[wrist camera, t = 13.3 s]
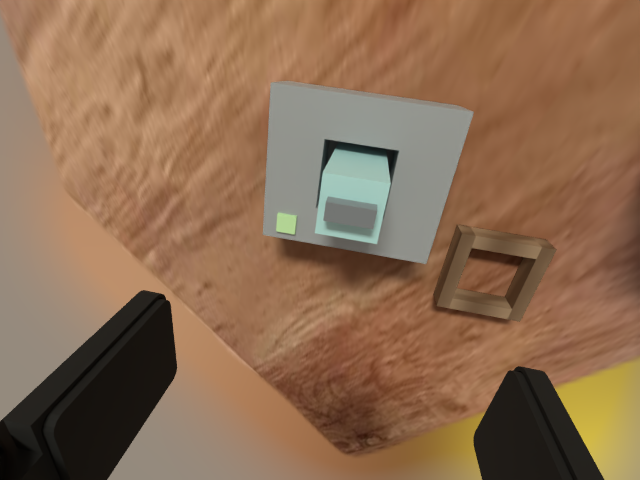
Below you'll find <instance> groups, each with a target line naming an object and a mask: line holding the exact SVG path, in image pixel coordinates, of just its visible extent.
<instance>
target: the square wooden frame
mask: <svg viewBox="0 0 640 480" xmlns="http://www.w3.org/2000/svg"><path fill="white" fill-rule="evenodd" d="M471 248H475V249H480V250H486V251H492V252H498V253H503V254H509V255H515V256H521V257H523V259H522V261H521V263H520V266H519V268H518V270H517V272H516V274H515V276H514V279H513V281H512V283H511V285H510V287H509V289H508V292H507V294H506V296H505V297H501V296H496V295H491V294H485V293H480V292H474V291H469V290H463V289H458V288H457V286H458V283H459V280H460V278H461V275H462V272H463V270H464V267H465V264H466V262H467V259H468V256H469V254H470V251H471ZM555 252H556V249H555V248H554V247H553V246H552V245H551V244H550V243H549V242H548V241H547V240H546V239H540V238H534V237H528V236H522V235H516V234H510V233H504V232H499V231H493V230H487V229H481V228H475V227H469V226H463V225H457V227H456V230H455V233H454V236H453V239H452V242H451V244H450V247H449V250H448V253H447V256H446V259H445V262H444V265H443V268H442V271H441V274H440V277H439V280H438V283H437V286H436V288H435V291H434V298H435V302H436V305H437V306H439V307H445V308H450V309H455V310H461V311H466V312H471V313H477V314H482V315H487V316H493V317H498V318H503V319H509V320H514V321H519V322H520V321H521V319H522V317H523V315H524V313H525V311H526V309H527V307H528V305H529V303H530V301H531V299H532V297H533V295H534V293H535V291H536V289H537V287H538V285H539V283H540V281H541V279H542V277H543V275H544V273H545V271H546V269H547V267H548V266H549V264H550V262H551V260H552V258H553V256H554V254H555Z"/></svg>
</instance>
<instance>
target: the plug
mask: <svg viewBox="0 0 640 480" xmlns="http://www.w3.org/2000/svg"><path fill="white" fill-rule="evenodd" d="M390 184H391V182H390V175H389V167H388V160H387V153H386V149H385V148H378V147H372V146H365V145H359V144H353V143H346V142H340V141H339V142H338V144H337V146H336V148H335V150H334V152H333V154H332V156H331V158H330V160H329V161H328V163H327V165H326V167H325V169H324V171H323V174H322V182H321V190H320V197H319V205H318V213H317V220H316V228H315V233H317V234H322V235H328V236H334V237H339V238H345V239H351V240H356V241H362V242H368V243H373V244H377V241H378V237H379V233H380V228H381V224H382V220H383V215H384V211H385V206H386V202H387V198H388V193H389V189H390Z"/></svg>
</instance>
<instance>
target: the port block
mask: <svg viewBox="0 0 640 480" xmlns="http://www.w3.org/2000/svg"><path fill="white" fill-rule="evenodd" d="M473 113H474V112H473V111H470V110H468V109H465V108H463V107H460V106H458V105H452V104H445V103H438V102H431V101H424V100H417V99H410V98H403V97H396V96H389V95H382V94H376V93H369V92H362V91H355V90H348V89H341V88H334V87H327V86H320V85H313V84H306V83H299V82H292V81H280V82H271V89H270V109H269V128H268V147H267V166H266V185H265V204H264V224H263V235H267V236H273V237H278V238H284V239H290V240H295V241H301V242H306V243H312V244H317V245H323V246H329V247H334V248H340V249H345V250H351V251H356V252H362V253H368V254H373V255H379V256H384V257H390V258H395V259H401V260H407V261H412V262H418V263H423V264H426V263H427V260H428V257H429V254H430V250H431V247H432V244H433V241H434V238H435V234H436V231H437V228H438V225H439V222H440V218H441V215H442V212H443V209H444V206H445V202H446V199H447V196H448V193H449V190H450V186H451V183H452V180H453V177H454V174H455V170H456V167H457V164H458V161H459V158H460V154H461V151H462V148H463V145H464V142H465V138H466V135H467V132H468V129H469V126H470V123H471V119H472V116H473ZM339 141H340V142H346V143H353V144H359V145H365V146H372V147H378V148H385V149H386V153H387V160H388V167H389V175H390V182H391V184H390V189H389V193H388V198H387V202H386V206H385V211H384V215H383V220H382V224H381V228H380V233H379V237H378V241H377V244H373V243H368V242H362V241H356V240H351V239H345V238H339V237H334V236H328V235H322V234H317V233H315V228H316V220H317V213H318V205H319V197H320V190H321V182H322V174H323V171H324V169H325V167H326V165H327V163H328V161H329V160H330V158H331V156H332V154H333V152H334V150H335V148H336V146H337V144H338V142H339Z"/></svg>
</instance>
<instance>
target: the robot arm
mask: <svg viewBox="0 0 640 480" xmlns="http://www.w3.org/2000/svg"><path fill="white" fill-rule="evenodd" d="M176 370H177V362H176V353H175V343H174V334H173V323H172V314H171V305H170V302H169V301H168V300H166V298H165V296H164V295H163V294H159V293H155V292H150V291H145V290H143V291H140V292H139V293H138V294H137V295H136V296H135V297H133V298H132V299H131V300H130V301H129V302H128V303H127V304H126V305H125V306H124V307H123V308H122V309H121V310H120V311H118V312H117V313H116V314H115V315H114V316H113V317H112V318H111V319H110V320H109V321H108V322H107V323H106V324H104V325H103V326H102V327H101V328H100V329H99V330H98V331H97V332H96V333H95V334H94V335H93V336H92V337H90V338H89V339H88V340H87V341H86V342H85V343H84V344H83V345H82V346H81V347H79V348H78V349H77V350H76V351H75V352H74V353H73V354H72V355H71V356H70V357H69V358H68V359H67V360H66V361H64V362H63V363H62V364H61V365H60V366H59V367H58V368H57V369H56V370H55V371H54V372H53V373H52V374H50V375H49V376H48V377H47V378H46V379H45V380H44V381H43V382H42V383H41V384H40V385H39V386H38V387H37V388H35V389H34V390H33V391H32V392H31V393H30V394H29V395H28V396H27V397H26V398H25V399H24V400H23V401H22V402H20V403H19V404H18V405H17V406H16V407H15V408H14V409H13V410H12V411H11V412H10V413H9V414H8V415H7V416H6V417H4V418H3V419H2V420H1V421H0V480H107V479H108V477H109V476H110V474H111V473H112V471H113V470H114V468H115V467H116V465H117V464H118V462H119V461H120V459H121V458H122V456H123V455H124V453H125V452H126V450H127V449H128V447H129V446H130V444H131V443H132V441H133V440H134V438H135V437H136V435H137V434H138V432H139V431H140V429H141V427H142V426H143V425H144V423H145V421H146V420H147V418H148V417H149V415H150V414H151V412H152V411H153V409H154V408H155V406H156V405H157V403H158V402H159V400H160V399H161V397H162V396H163V394H164V393H165V391H166V390H167V388H168V386H169V385H170V384H171V382H172V381H173V379H174V377H175V374H176ZM474 448H475V452H476V456H477V460H478V464H479V468H480V472H481V476H482V480H604V478H603V476H602V475H601V473H600V471H599V469H598V467H597V465H596V464H595V462H594V460H593V458H592V456H591V455H590V453H589V451H588V449H587V447H586V445H585V444H584V442H583V440H582V438H581V436H580V435H579V433H578V431H577V429H576V427H575V425H574V423H573V422H572V420H571V418H570V416H569V414H568V412H567V411H566V409H565V407H564V405H563V403H562V402H561V400H560V398H559V396H558V394H557V392H556V391H555V389H554V387H553V385H552V383H551V381H550V380H549V378H548V376H547V375H546V373H545V372H543V371H540V370H535V369H530V368H525V367H519V366H518V367H516V368H515V369H514V371H511V370H510V371H508V373H507V374H506V376H505V378H504V379H503V381H502V383H501V385H500V387H499V389H498V391H497V392H496V394H495V396H494V398H493V400H492V402H491V404H490V405H489V407H488V409H487V411H486V413H485V415H484V416H483V418H482V420H481V422H480V424H479V426H478V428H477V429H476V431H475V434H474Z"/></svg>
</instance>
